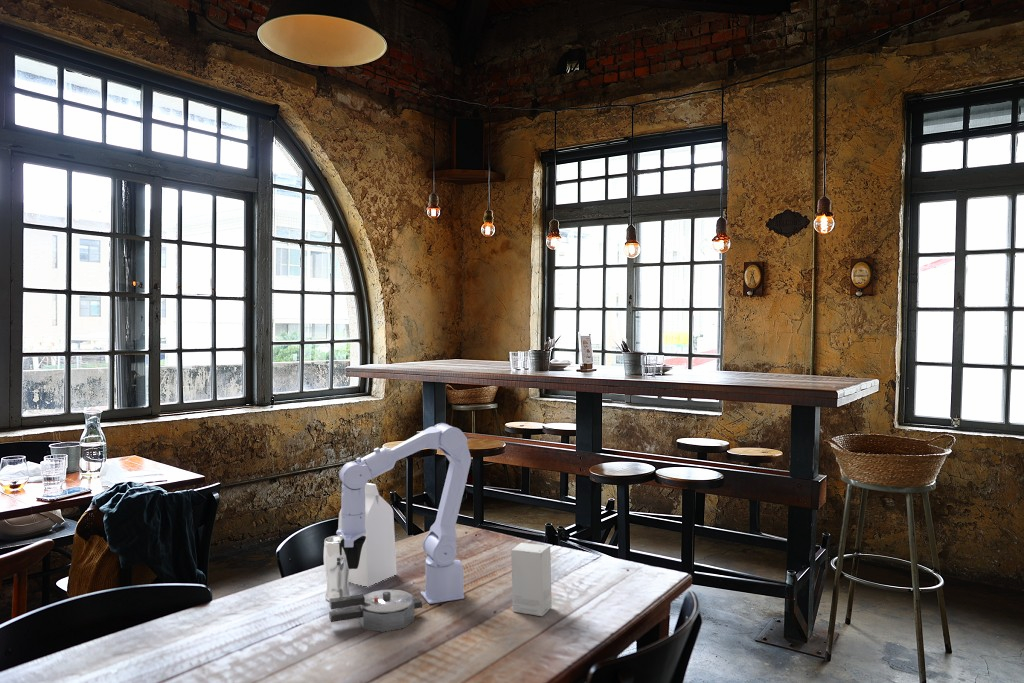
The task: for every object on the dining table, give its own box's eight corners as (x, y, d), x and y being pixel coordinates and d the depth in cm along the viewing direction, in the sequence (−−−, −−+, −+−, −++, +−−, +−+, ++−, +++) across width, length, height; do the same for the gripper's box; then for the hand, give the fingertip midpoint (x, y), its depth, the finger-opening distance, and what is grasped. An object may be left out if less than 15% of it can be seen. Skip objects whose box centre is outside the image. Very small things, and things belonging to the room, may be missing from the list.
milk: (396, 575, 198) (396, 482, 198) (367, 587, 188) (367, 490, 188) (365, 567, 205) (365, 477, 204) (335, 578, 195) (335, 484, 194)
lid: (405, 589, 175) (405, 580, 175) (419, 608, 164) (419, 597, 164) (326, 601, 168) (326, 591, 168) (334, 621, 156) (334, 610, 156)
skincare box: (552, 608, 175) (552, 545, 175) (542, 618, 169) (542, 553, 169) (521, 602, 179) (521, 541, 178) (510, 612, 173) (510, 548, 172)
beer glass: (344, 603, 177) (344, 543, 177) (318, 601, 179) (318, 542, 178) (356, 593, 184) (356, 536, 184) (331, 591, 186) (331, 534, 185)
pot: (413, 605, 176) (413, 589, 176) (427, 624, 165) (427, 607, 165) (325, 619, 167) (325, 602, 167) (334, 640, 157) (334, 622, 156)
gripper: (341, 505, 180) (341, 558, 180) (331, 520, 165) (331, 578, 165) (370, 504, 180) (369, 558, 180) (361, 520, 166) (361, 578, 166)
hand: (353, 568), depth 173 cm, fingers closed
